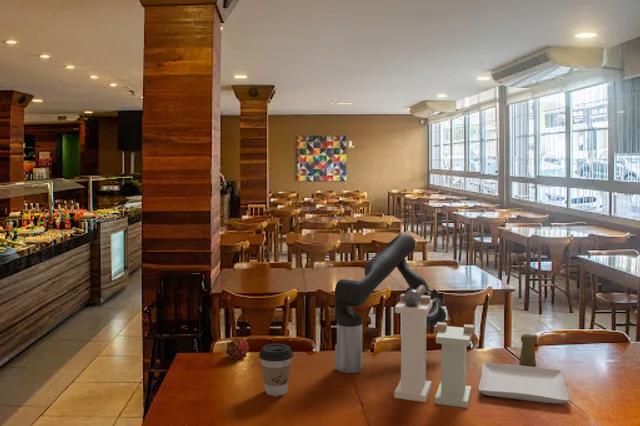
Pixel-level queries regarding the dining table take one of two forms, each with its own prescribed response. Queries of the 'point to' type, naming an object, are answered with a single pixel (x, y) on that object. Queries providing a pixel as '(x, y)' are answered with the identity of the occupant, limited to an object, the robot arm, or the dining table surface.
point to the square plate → (523, 383)
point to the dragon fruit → (237, 348)
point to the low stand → (453, 364)
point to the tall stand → (413, 350)
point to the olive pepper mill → (527, 350)
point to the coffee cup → (276, 368)
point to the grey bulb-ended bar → (414, 296)
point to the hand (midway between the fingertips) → (421, 290)
